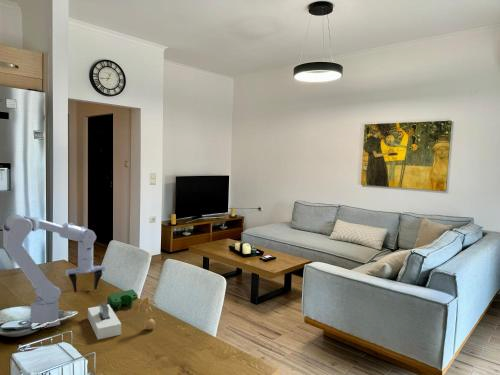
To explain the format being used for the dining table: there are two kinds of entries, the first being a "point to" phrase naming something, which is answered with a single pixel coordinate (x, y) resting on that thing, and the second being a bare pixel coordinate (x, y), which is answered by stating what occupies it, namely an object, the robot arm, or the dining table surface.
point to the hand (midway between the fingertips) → (85, 290)
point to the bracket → (104, 311)
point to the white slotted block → (104, 323)
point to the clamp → (122, 299)
